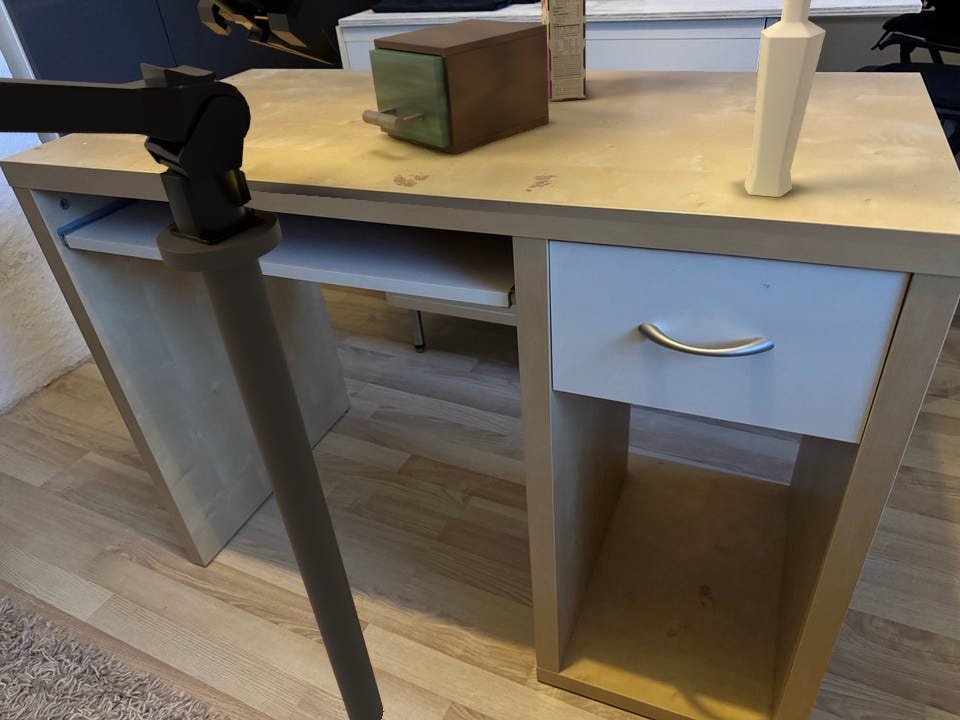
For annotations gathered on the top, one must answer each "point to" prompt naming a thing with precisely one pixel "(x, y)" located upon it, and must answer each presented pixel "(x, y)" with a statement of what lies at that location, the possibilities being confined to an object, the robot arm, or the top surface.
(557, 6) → the candy bar box
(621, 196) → the top surface
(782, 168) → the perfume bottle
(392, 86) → the drawer
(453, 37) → the cabinet
